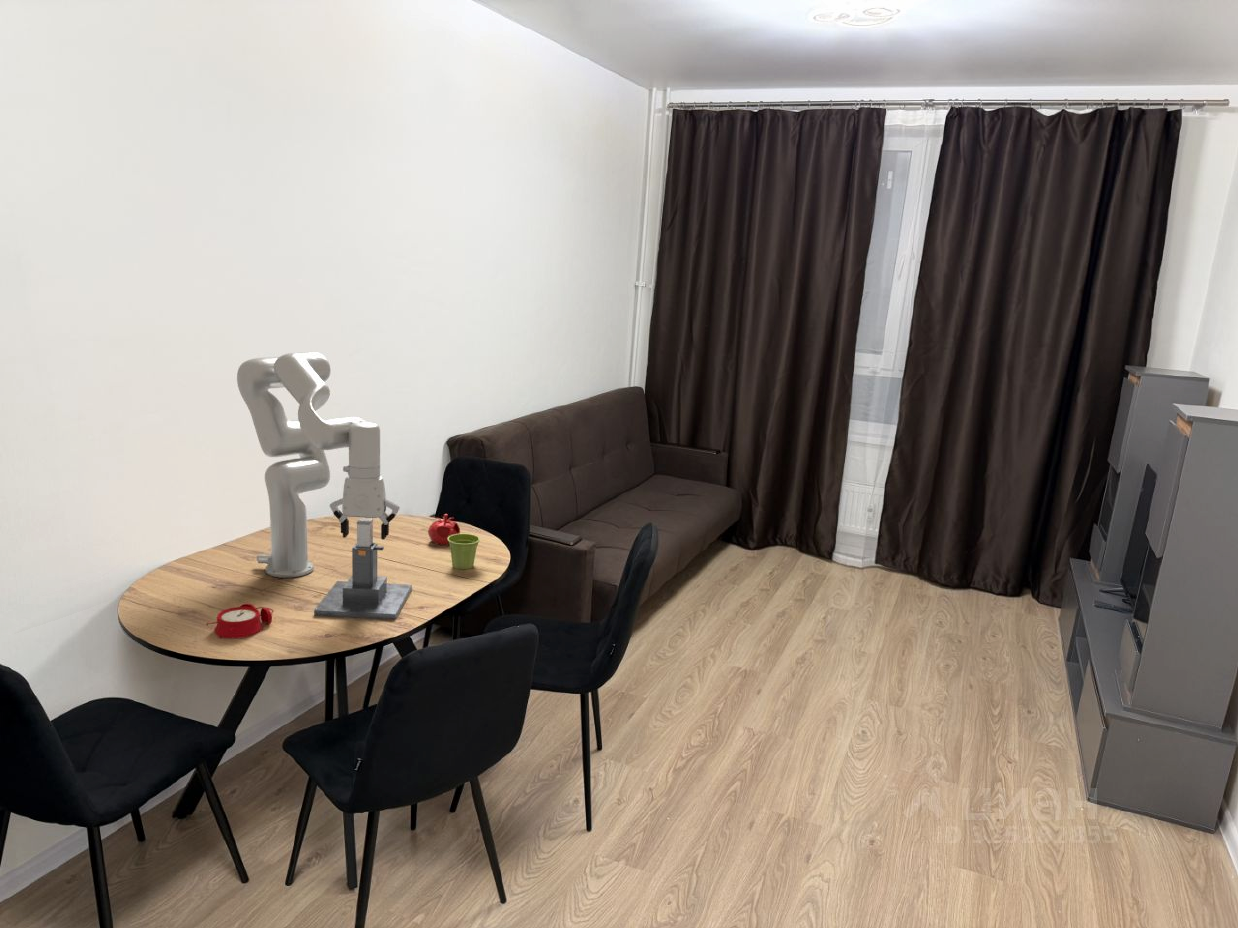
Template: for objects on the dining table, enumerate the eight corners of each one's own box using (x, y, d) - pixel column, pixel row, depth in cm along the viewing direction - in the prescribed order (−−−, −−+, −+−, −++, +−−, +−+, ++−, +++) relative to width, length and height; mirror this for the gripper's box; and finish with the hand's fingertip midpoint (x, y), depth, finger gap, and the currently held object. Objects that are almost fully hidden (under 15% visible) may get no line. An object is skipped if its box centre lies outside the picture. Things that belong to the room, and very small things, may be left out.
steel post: (356, 583, 220) (356, 522, 216) (360, 579, 223) (359, 518, 220) (370, 584, 220) (369, 522, 216) (373, 579, 224) (373, 518, 220)
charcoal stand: (314, 615, 213) (313, 556, 209) (337, 586, 232) (336, 531, 229) (395, 619, 214) (395, 560, 210) (411, 589, 233) (412, 535, 230)
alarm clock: (199, 620, 198) (248, 586, 211) (205, 642, 201) (253, 608, 213) (234, 630, 195) (281, 595, 207) (239, 652, 197) (286, 616, 210)
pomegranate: (422, 541, 274) (422, 513, 271) (450, 535, 280) (449, 508, 278) (438, 549, 266) (438, 520, 264) (466, 543, 273) (466, 515, 271)
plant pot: (485, 565, 256) (486, 537, 254) (467, 574, 247) (467, 545, 245) (459, 558, 259) (459, 531, 257) (440, 567, 251) (440, 539, 249)
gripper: (325, 473, 211) (326, 539, 215) (396, 477, 212) (395, 543, 216) (334, 466, 218) (334, 530, 222) (402, 470, 219) (402, 534, 223)
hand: (364, 536), depth 219 cm, fingers open, 9 cm apart
